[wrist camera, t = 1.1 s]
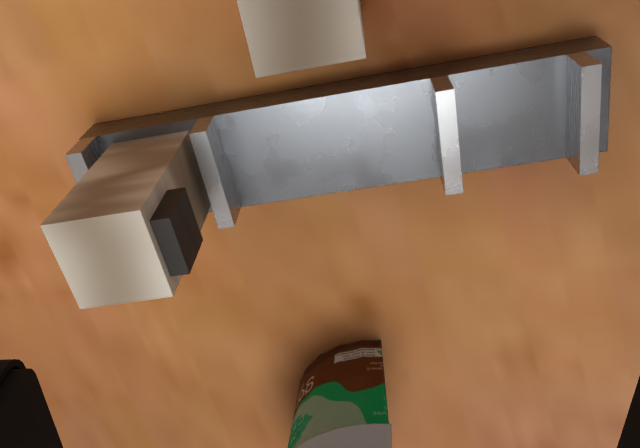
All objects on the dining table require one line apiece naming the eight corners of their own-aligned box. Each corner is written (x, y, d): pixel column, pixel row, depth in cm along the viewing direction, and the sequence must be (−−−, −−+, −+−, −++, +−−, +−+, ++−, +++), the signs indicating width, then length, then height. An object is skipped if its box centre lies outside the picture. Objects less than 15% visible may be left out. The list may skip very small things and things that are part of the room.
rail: (595, 35, 28) (629, 59, 25) (592, 135, 31) (623, 168, 27) (94, 124, 32) (62, 155, 28) (126, 208, 34) (101, 246, 31)
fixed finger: (205, 127, 29) (160, 207, 22) (227, 200, 31) (192, 293, 24) (111, 143, 30) (40, 225, 23) (138, 213, 32) (80, 309, 25)
